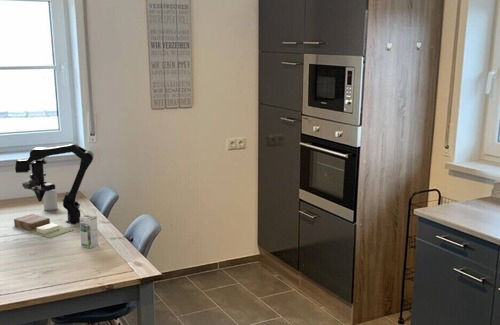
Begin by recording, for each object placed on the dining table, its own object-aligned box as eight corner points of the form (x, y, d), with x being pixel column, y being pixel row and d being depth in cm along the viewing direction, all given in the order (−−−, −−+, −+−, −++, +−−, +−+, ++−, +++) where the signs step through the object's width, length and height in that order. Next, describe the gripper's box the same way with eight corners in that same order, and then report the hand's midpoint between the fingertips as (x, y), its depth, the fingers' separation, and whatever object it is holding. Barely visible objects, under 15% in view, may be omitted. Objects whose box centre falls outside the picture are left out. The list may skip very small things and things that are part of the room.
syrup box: (80, 246, 249) (78, 216, 246) (89, 242, 254) (88, 213, 252) (89, 248, 247) (88, 218, 244) (98, 244, 252) (97, 215, 249)
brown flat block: (50, 225, 279) (49, 218, 278) (31, 231, 270) (30, 223, 269) (33, 221, 286) (32, 213, 285) (14, 226, 277) (14, 219, 276)
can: (60, 207, 311) (58, 187, 309) (54, 211, 304) (52, 190, 302) (47, 207, 312) (46, 187, 310) (41, 210, 305) (40, 190, 302)
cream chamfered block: (51, 223, 275) (51, 226, 276) (36, 227, 268) (36, 231, 268) (59, 225, 272) (59, 228, 273) (44, 229, 265) (44, 233, 265)
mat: (72, 230, 272) (72, 229, 271) (49, 238, 260) (49, 237, 260) (52, 224, 280) (52, 224, 280) (28, 232, 268) (28, 231, 268)
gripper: (12, 173, 274) (14, 202, 278) (37, 177, 265) (39, 207, 269) (30, 169, 284) (32, 197, 287) (55, 173, 275) (57, 202, 278)
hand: (40, 201), depth 280 cm, fingers closed
